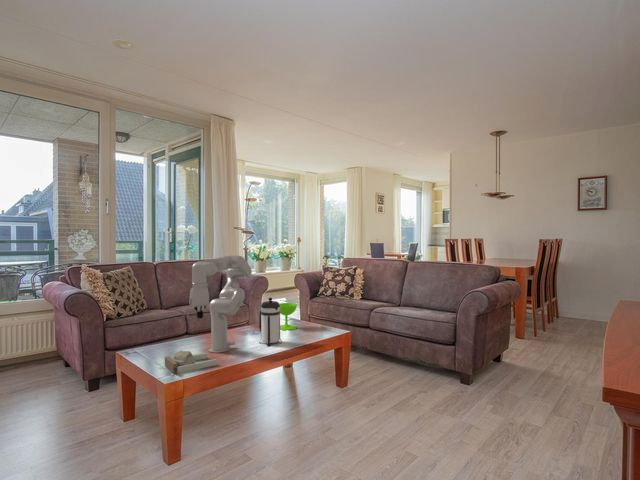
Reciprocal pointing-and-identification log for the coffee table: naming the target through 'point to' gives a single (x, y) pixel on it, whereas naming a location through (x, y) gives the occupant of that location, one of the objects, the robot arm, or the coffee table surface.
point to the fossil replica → (184, 358)
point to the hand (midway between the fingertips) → (199, 318)
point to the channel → (172, 365)
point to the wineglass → (287, 310)
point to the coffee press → (270, 322)
